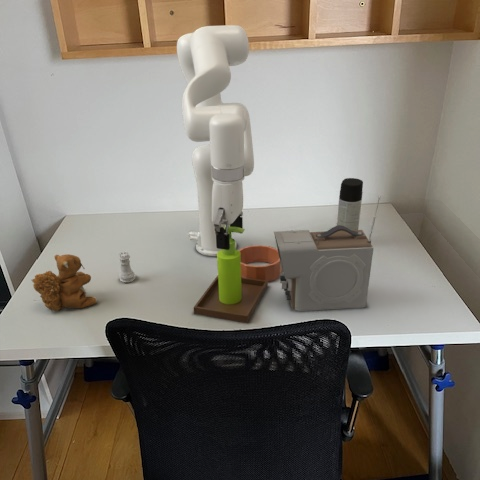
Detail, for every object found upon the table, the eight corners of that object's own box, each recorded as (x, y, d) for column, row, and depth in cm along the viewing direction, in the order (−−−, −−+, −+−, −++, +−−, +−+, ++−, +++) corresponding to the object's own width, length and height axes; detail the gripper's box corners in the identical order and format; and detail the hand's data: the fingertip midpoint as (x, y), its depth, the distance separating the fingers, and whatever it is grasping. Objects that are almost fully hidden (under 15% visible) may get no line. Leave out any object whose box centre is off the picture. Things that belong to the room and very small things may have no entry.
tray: (194, 313, 136) (193, 307, 134) (219, 279, 150) (218, 273, 149) (247, 322, 132) (247, 316, 130) (267, 287, 146) (267, 280, 145)
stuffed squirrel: (100, 303, 141) (91, 258, 133) (46, 320, 134) (34, 274, 127) (87, 287, 148) (78, 244, 140) (35, 303, 141) (23, 258, 134)
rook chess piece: (122, 284, 149) (118, 259, 144) (117, 278, 152) (113, 252, 147) (137, 280, 150) (134, 255, 146) (132, 274, 154) (128, 249, 149)
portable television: (272, 291, 144) (274, 182, 127) (359, 286, 145) (372, 178, 129) (278, 315, 134) (281, 201, 117) (371, 310, 135) (387, 196, 119)
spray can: (359, 241, 169) (366, 179, 158) (353, 249, 164) (360, 186, 153) (338, 237, 171) (344, 176, 160) (332, 246, 166) (337, 183, 155)
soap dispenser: (243, 305, 138) (241, 233, 126) (216, 303, 139) (213, 232, 128) (247, 294, 142) (246, 224, 131) (222, 291, 144) (218, 222, 132)
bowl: (228, 279, 150) (228, 263, 147) (243, 258, 161) (243, 242, 158) (274, 285, 146) (275, 269, 144) (286, 263, 157) (287, 248, 154)
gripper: (225, 158, 130) (227, 223, 139) (198, 183, 116) (202, 253, 126) (254, 161, 128) (254, 227, 137) (230, 187, 114) (232, 258, 124)
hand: (229, 239), depth 132 cm, fingers open, 9 cm apart
